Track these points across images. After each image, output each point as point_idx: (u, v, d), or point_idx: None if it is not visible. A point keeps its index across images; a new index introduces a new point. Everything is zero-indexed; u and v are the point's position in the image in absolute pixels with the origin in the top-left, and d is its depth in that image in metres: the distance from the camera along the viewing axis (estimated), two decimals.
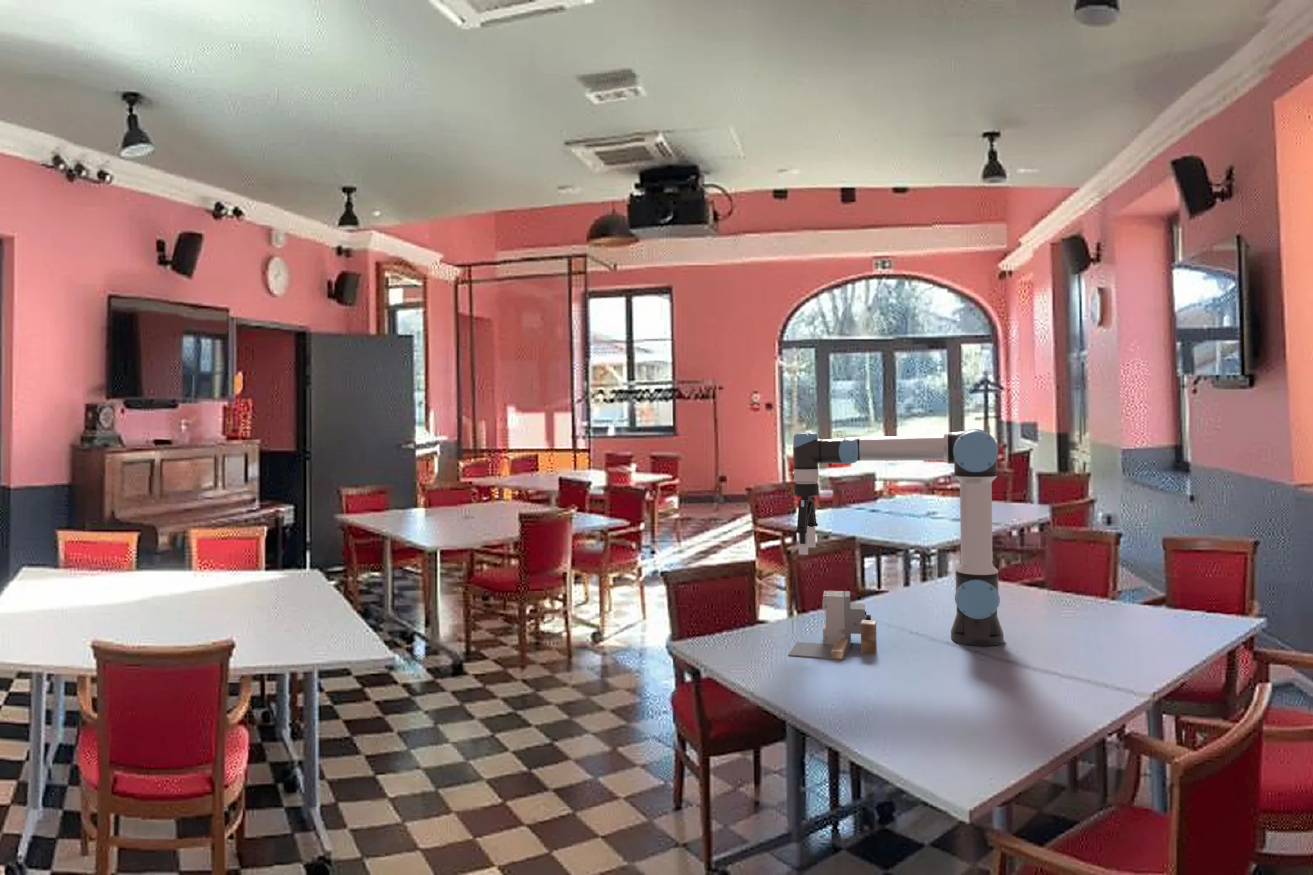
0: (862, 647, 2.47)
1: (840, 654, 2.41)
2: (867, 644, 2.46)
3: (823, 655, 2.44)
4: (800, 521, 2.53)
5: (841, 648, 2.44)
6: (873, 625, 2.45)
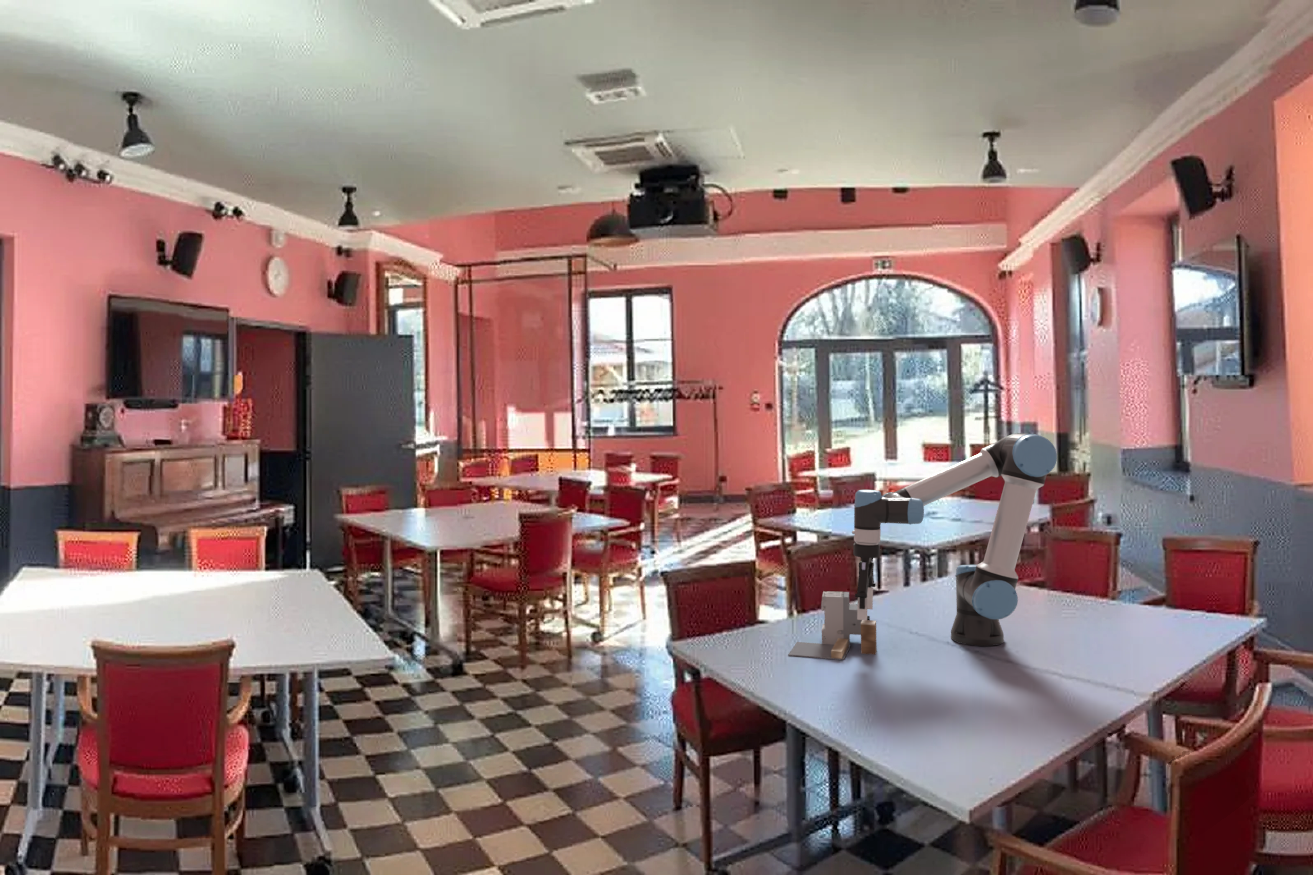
0: (862, 647, 2.47)
1: (840, 654, 2.41)
2: (867, 644, 2.46)
3: (823, 655, 2.44)
4: (861, 585, 2.39)
5: (841, 648, 2.44)
6: (873, 625, 2.45)
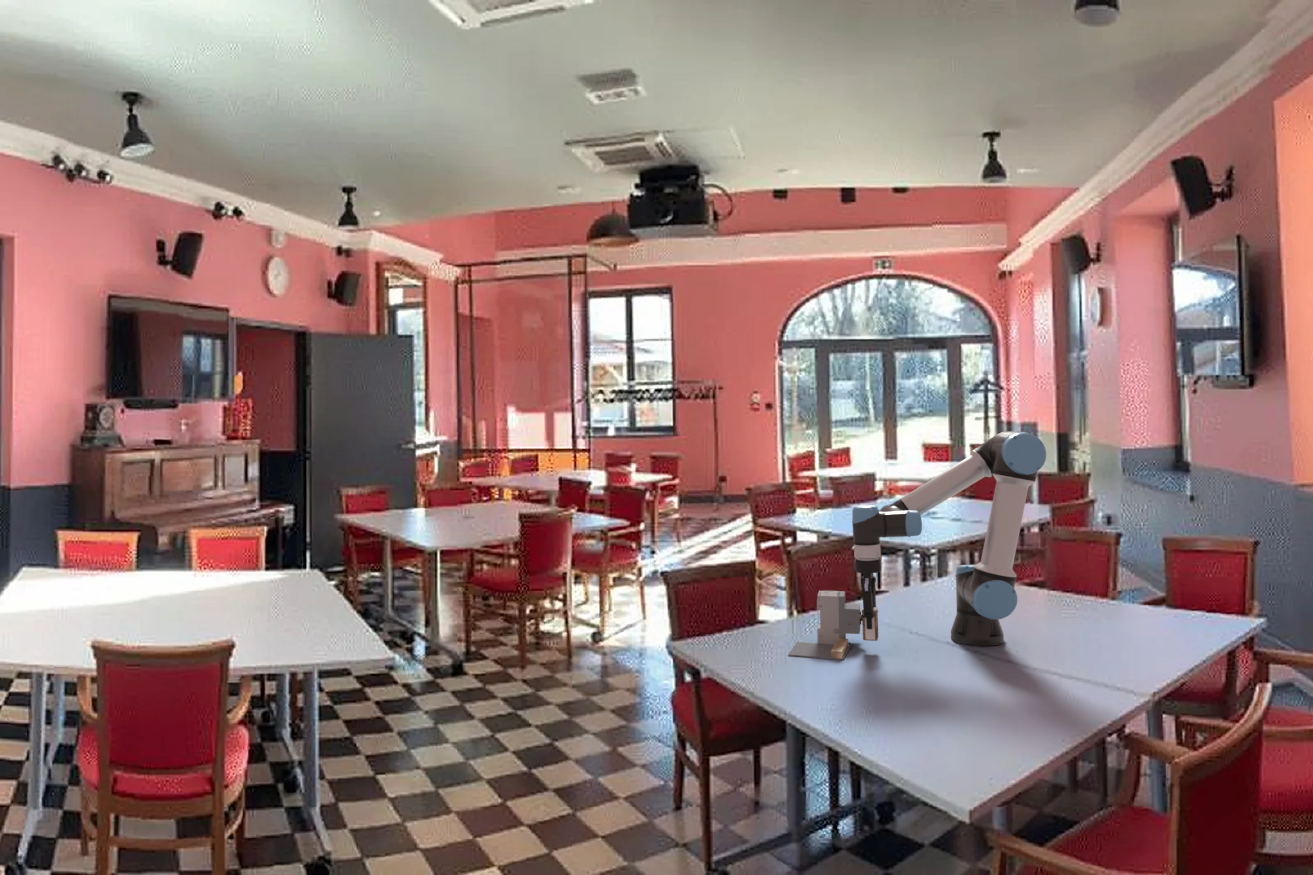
0: (864, 633, 2.46)
1: (840, 654, 2.41)
2: None
3: (823, 655, 2.44)
4: (866, 607, 2.42)
5: (841, 648, 2.44)
6: (874, 611, 2.45)
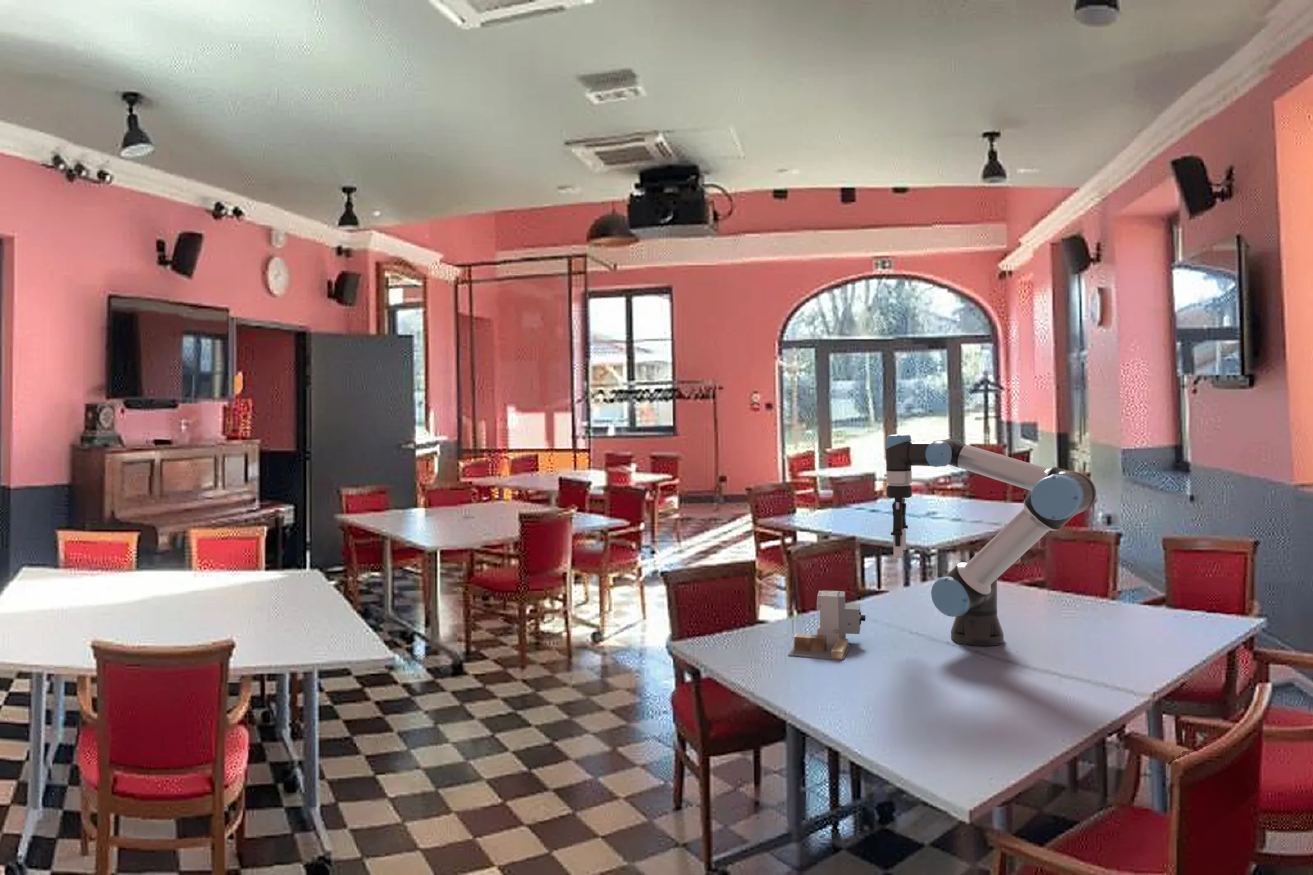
0: (818, 650, 2.48)
1: (840, 654, 2.41)
2: (814, 645, 2.48)
3: (823, 655, 2.44)
4: (896, 523, 2.52)
5: (841, 648, 2.44)
6: (795, 637, 2.50)
